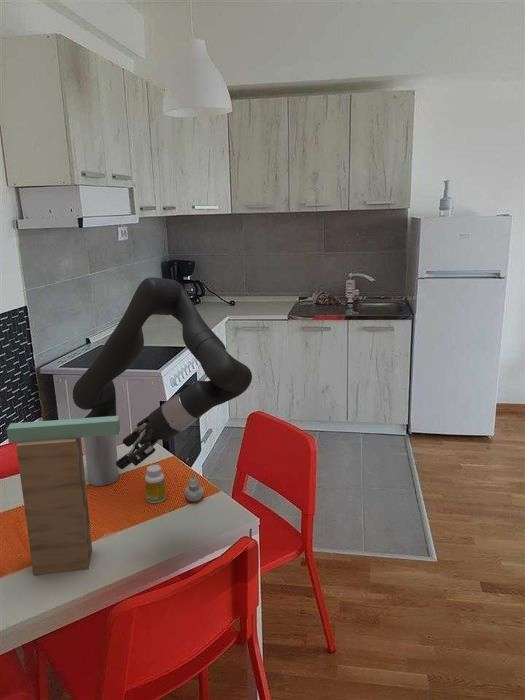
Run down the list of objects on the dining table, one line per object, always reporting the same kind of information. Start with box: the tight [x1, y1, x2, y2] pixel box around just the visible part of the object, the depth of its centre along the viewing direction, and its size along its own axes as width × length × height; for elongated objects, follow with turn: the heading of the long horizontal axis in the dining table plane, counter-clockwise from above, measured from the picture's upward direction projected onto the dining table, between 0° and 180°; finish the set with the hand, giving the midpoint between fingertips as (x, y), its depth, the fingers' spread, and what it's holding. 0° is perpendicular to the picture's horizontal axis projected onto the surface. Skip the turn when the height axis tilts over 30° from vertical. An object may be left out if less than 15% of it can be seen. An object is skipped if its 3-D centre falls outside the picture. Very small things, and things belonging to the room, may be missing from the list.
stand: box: [16, 437, 93, 576], centre depth 121 cm, size 7×12×32 cm, turn 100°
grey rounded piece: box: [184, 475, 205, 502], centre depth 151 cm, size 5×7×8 cm
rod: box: [6, 415, 121, 444], centre depth 117 cm, size 3×23×3 cm, turn 100°
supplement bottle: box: [144, 464, 166, 504], centre depth 151 cm, size 5×5×10 cm
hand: (121, 454), depth 123 cm, fingers open, 8 cm apart
